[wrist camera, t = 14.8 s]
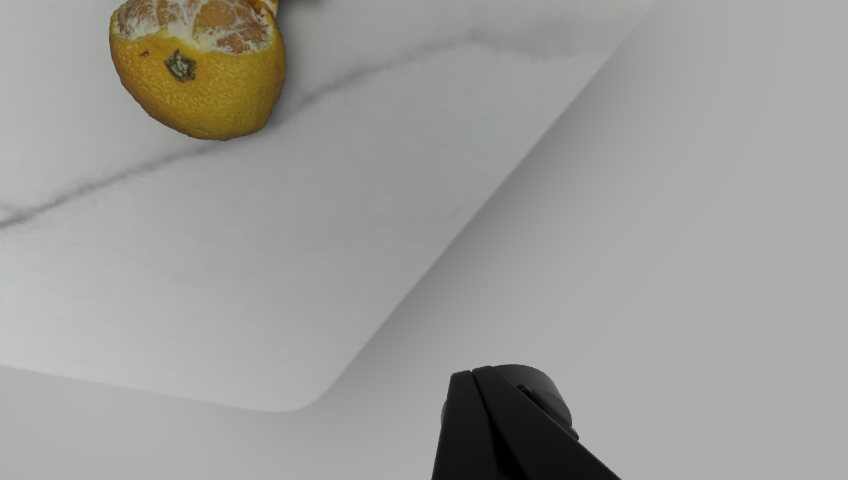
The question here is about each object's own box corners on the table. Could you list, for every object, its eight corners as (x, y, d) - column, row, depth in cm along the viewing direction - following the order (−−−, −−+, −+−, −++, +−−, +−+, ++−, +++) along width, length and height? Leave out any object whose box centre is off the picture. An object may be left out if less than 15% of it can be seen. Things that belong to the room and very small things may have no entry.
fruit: (327, -80, 16) (318, -113, 12) (319, 145, 19) (310, 166, 16) (74, -130, 14) (-14, -183, 11) (113, 123, 18) (55, 141, 14)
